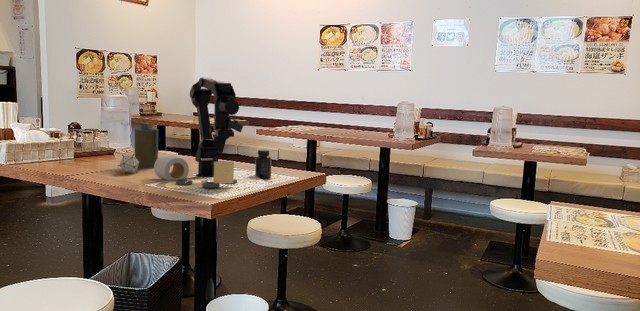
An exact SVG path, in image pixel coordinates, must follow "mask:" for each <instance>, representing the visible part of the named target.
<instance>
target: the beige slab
mask: <svg viewBox="0 0 640 311" xmlns="http://www.w3.org/2000/svg"><path fill="white" fill-rule="evenodd" d="M234 168H235V161H233V160H225V161H224V160H223V161H222V160H218V161H214V176H213V181H211V182H204V183H202V188H203V189H206V190H217V189H220V186H221V185H220V184H223V183H233V179H234V173H235V172H234V171H235V170H234Z"/></svg>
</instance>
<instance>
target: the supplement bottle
mask: <svg viewBox="0 0 640 311" xmlns="http://www.w3.org/2000/svg"><path fill="white" fill-rule="evenodd" d="M254 163H255V166H254V167H255V169H254V170H255V172H254V175H255V177H258V178H260V179H261V180H268V179H272V157H271V156H270V150H268V149H258V151H257V156H256V157H255V162H254Z"/></svg>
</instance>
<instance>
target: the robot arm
mask: <svg viewBox="0 0 640 311" xmlns="http://www.w3.org/2000/svg"><path fill="white" fill-rule="evenodd" d="M212 95H213V96H214V98H213V102H214V115H213V116H212V118H213V121H214V122H213V125H211V119H210V113H209V107H208V106H209V104H210V102H211V97H212ZM236 96H237V94H236V92H235V89H234V87H233V84H232V83H231V82H230V81H222V80H221V81H219V80H215V79H213V78H211V77H199V80H198V81H197V82H195V83H194V84H192V86H191V88H190V90H189V97H190V99H191V103H192V105H193V106H194V107H195V108H196V112H197V113H196V114H197V119H198V120H197V121H198V127H199V134H200V141H199V144H198V146H197V150H196V153H195V157H194V159H195V162H197V163H198V165H197V166H198V168H197V169H198V172H197V174H195V176H198V177H202V178H210V177H214V161H219V158H220V154H223V152H224V150H225V149H224V148H225V146H226V141H227V140H228V139H230V138H232V137H233V138H234V137H235V131H236V132H238V133H242V131H243V128H244V125H243V124H242V123H239V120H237V119H233V120H232V118H231V116H234V115H236V114H237V113H238V112H239V110H240V105H239V103H238V101H236V99H237V98H236ZM234 130H235V131H234ZM213 133H214V134H213Z"/></svg>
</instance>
